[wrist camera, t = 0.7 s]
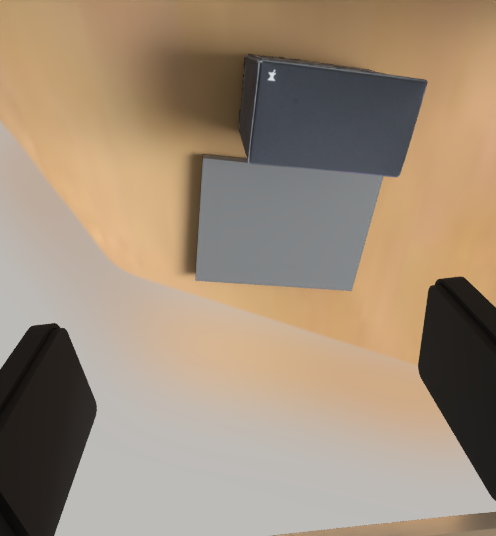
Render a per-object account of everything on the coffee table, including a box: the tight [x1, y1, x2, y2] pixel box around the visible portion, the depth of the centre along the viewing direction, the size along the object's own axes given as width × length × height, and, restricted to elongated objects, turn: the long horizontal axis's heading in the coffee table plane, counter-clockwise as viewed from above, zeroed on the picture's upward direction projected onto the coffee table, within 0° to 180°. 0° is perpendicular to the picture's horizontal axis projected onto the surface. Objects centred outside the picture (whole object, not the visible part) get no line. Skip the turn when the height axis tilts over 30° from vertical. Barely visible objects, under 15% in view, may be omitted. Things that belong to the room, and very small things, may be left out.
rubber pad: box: [195, 154, 383, 291], centre depth 38 cm, size 16×12×2 cm
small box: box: [239, 54, 427, 177], centre depth 29 cm, size 11×6×10 cm, turn 83°
